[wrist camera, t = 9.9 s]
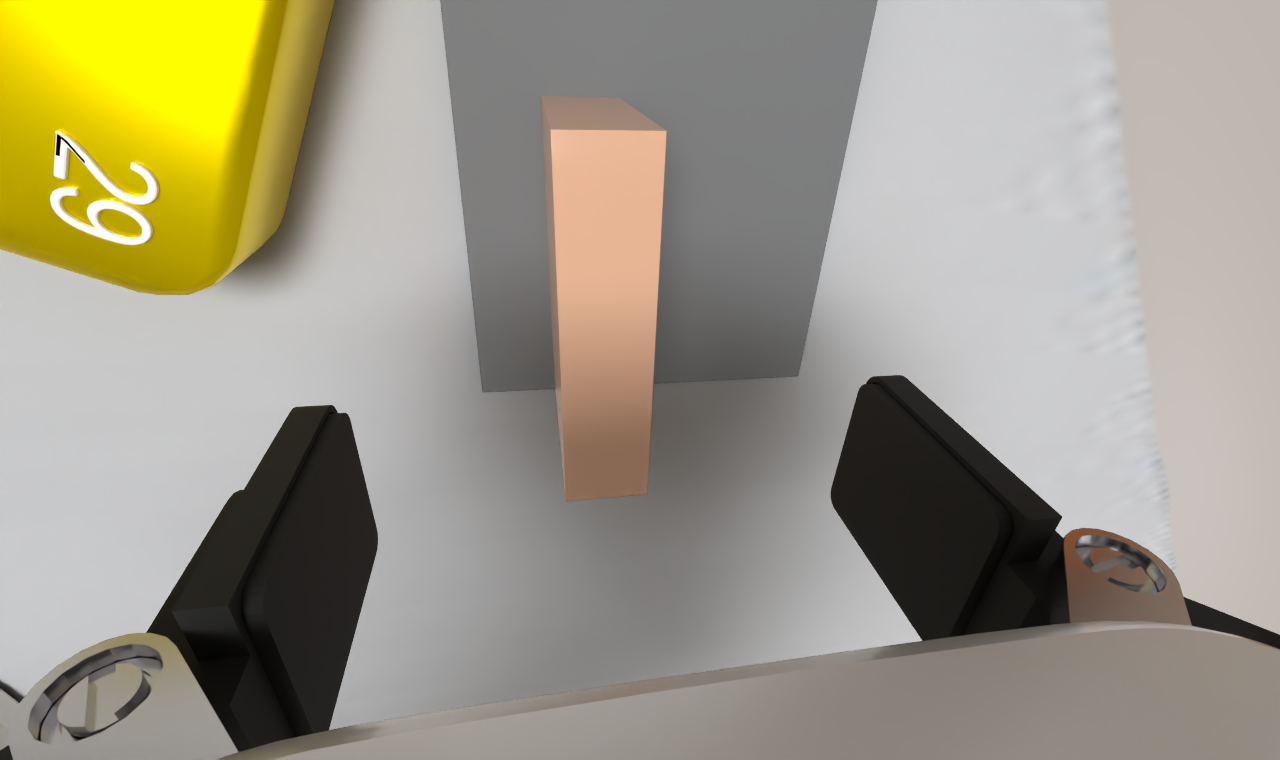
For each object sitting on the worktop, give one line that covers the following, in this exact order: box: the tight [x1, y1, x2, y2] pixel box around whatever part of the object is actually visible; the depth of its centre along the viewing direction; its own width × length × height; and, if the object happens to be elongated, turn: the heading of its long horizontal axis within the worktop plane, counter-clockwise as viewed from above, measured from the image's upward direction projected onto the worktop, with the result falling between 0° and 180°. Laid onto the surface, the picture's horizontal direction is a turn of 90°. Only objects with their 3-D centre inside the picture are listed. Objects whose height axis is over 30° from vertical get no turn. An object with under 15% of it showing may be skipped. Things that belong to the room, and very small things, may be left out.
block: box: [541, 96, 666, 502], centre depth 18 cm, size 10×2×7 cm, turn 178°
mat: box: [440, 0, 878, 392], centre depth 20 cm, size 17×13×1 cm
